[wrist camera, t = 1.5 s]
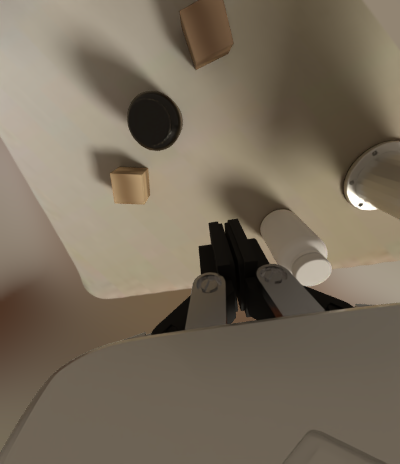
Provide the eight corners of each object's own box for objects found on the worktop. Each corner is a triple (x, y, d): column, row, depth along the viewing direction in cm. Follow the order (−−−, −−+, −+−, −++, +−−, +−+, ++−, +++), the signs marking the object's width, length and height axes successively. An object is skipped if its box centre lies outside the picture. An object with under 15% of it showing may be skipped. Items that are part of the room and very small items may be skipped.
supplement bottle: (156, 151, 36) (140, 165, 25) (132, 110, 33) (103, 107, 22) (191, 131, 34) (189, 138, 24) (169, 86, 31) (157, 72, 21)
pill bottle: (259, 244, 46) (286, 296, 33) (258, 211, 42) (288, 255, 29) (296, 239, 45) (337, 289, 32) (298, 205, 41) (347, 246, 28)
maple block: (148, 168, 37) (142, 174, 33) (150, 194, 40) (144, 204, 35) (119, 166, 37) (110, 173, 33) (123, 193, 39) (114, 203, 35)
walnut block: (216, 8, 27) (220, -12, 23) (227, 53, 30) (233, 43, 25) (181, 27, 28) (179, 11, 24) (195, 70, 31) (195, 62, 26)
